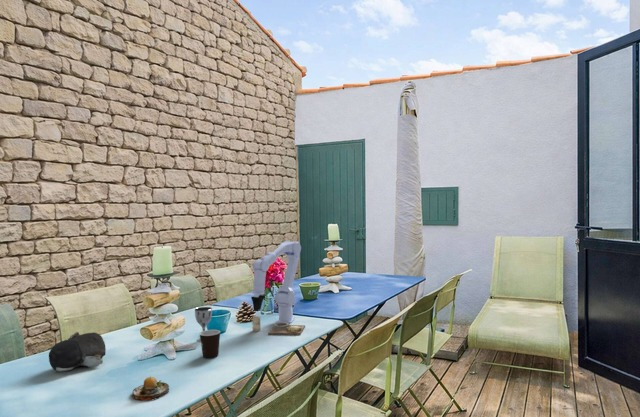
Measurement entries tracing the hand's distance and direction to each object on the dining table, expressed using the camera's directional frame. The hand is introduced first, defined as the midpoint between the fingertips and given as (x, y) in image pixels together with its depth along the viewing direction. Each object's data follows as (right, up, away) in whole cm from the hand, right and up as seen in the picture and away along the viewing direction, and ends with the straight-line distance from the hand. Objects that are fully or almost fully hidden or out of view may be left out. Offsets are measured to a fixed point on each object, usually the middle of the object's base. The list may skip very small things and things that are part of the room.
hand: (257, 310), depth 223 cm
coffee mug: (-15, -11, -34) cm, 39 cm away
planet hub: (0, -11, +1) cm, 11 cm away
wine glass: (-24, -11, -13) cm, 29 cm away
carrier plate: (+15, -10, -1) cm, 18 cm away
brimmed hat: (-26, -12, -72) cm, 78 cm away
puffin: (-67, -13, -44) cm, 81 cm away
